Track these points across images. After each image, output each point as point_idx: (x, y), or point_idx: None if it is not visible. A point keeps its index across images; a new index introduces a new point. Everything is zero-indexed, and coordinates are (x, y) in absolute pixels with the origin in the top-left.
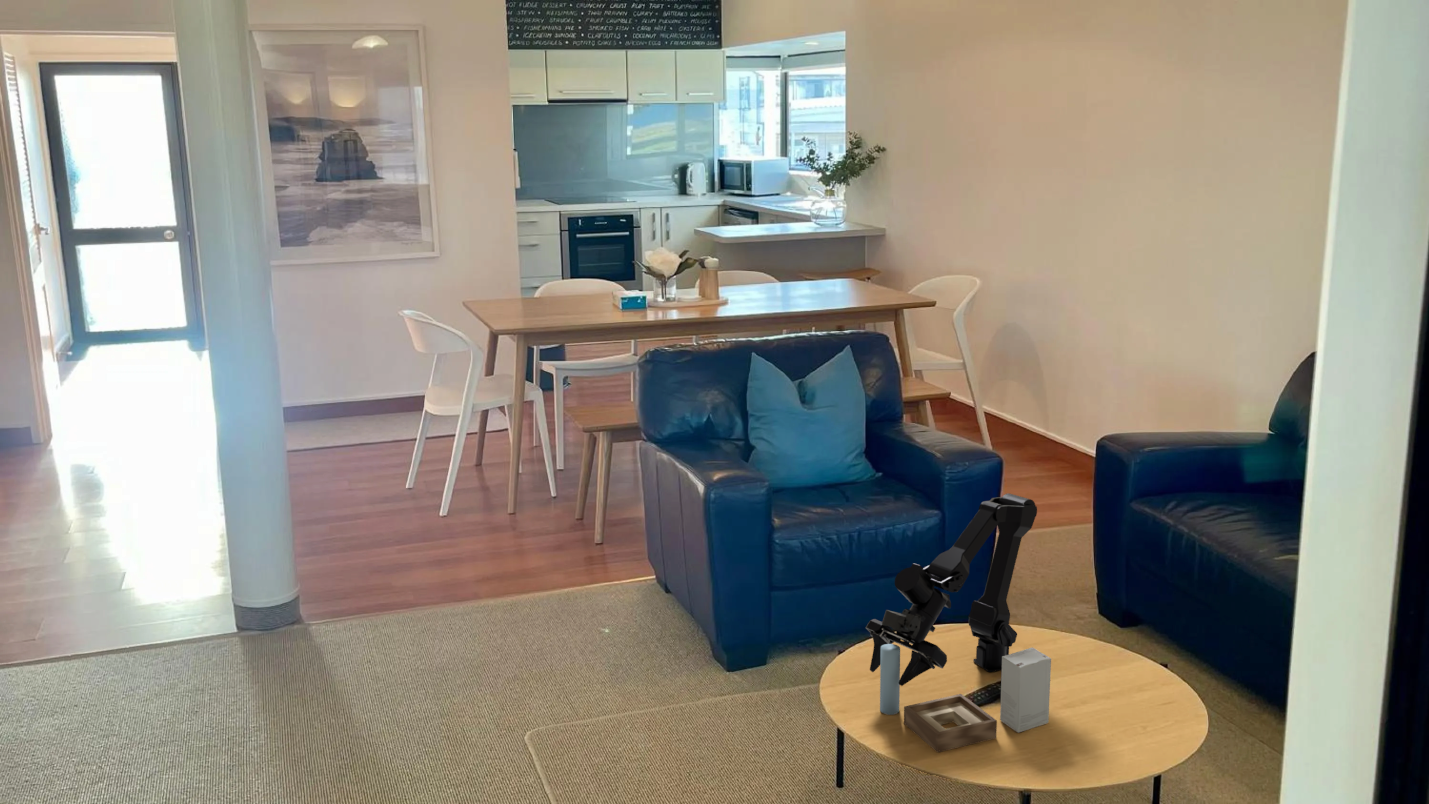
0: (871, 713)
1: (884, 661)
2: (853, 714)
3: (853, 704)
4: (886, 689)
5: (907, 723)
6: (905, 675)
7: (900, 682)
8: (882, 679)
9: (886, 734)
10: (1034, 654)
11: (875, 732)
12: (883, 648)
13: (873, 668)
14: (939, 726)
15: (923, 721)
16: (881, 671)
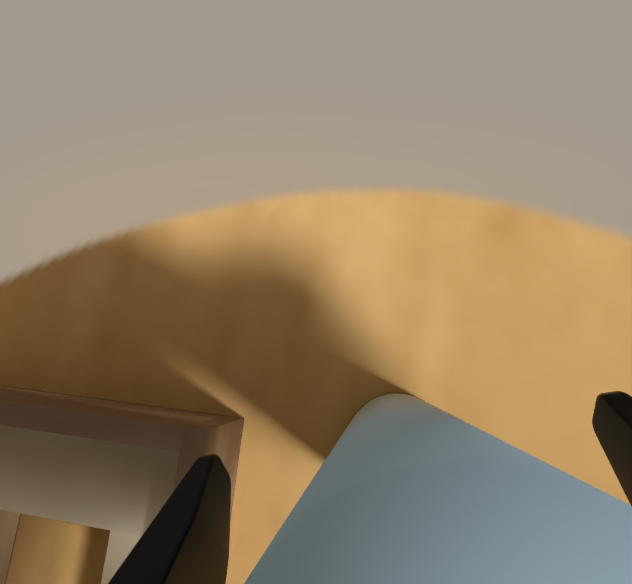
0: (413, 339)
1: (387, 433)
2: (447, 253)
3: (548, 312)
4: (363, 412)
5: (204, 415)
6: (137, 544)
7: (192, 465)
8: (405, 405)
9: (209, 283)
10: None
11: (249, 250)
12: (566, 565)
13: (611, 431)
14: (8, 494)
15: (14, 408)
16: (433, 412)
